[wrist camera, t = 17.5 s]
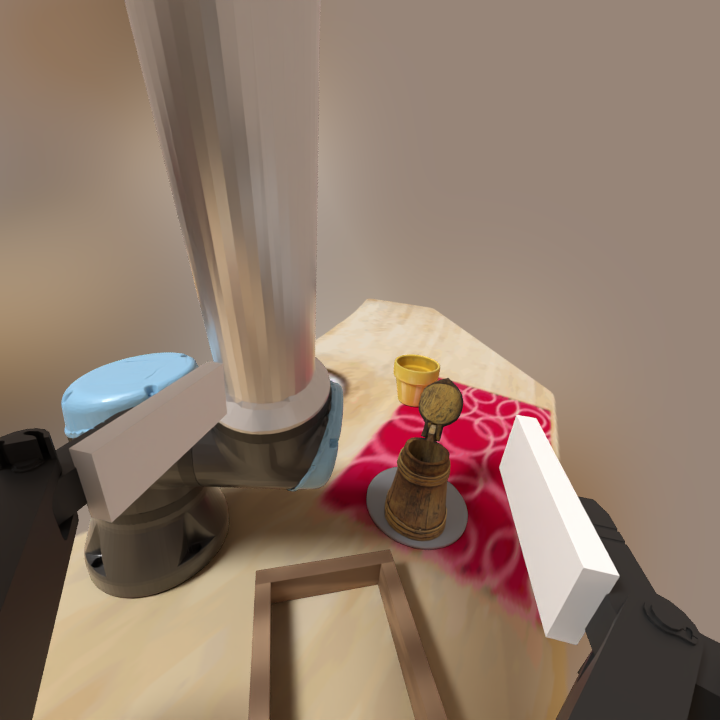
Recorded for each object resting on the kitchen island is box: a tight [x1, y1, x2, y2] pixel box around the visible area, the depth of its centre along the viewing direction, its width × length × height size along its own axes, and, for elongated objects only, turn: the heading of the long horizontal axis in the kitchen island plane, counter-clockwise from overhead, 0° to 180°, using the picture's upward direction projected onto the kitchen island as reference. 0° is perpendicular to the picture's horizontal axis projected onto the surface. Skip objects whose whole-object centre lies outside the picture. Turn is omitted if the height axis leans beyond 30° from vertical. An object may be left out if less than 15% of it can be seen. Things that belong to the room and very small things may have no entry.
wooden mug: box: [385, 378, 463, 541], centre depth 46 cm, size 9×14×18 cm, turn 157°
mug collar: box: [248, 550, 448, 720], centre depth 29 cm, size 20×15×4 cm
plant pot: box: [394, 355, 440, 407], centre depth 77 cm, size 10×10×10 cm
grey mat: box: [366, 467, 468, 550], centre depth 50 cm, size 15×15×1 cm
